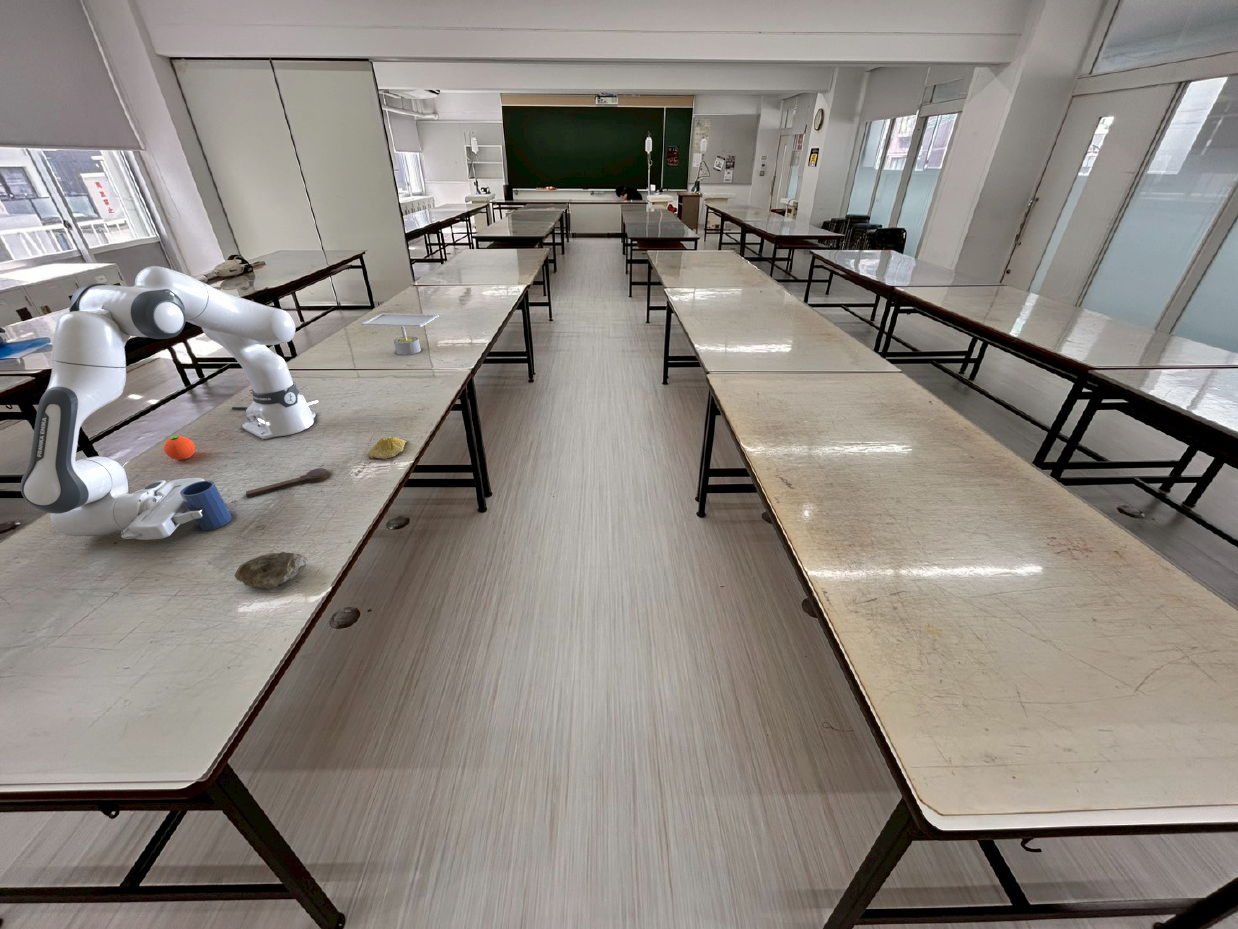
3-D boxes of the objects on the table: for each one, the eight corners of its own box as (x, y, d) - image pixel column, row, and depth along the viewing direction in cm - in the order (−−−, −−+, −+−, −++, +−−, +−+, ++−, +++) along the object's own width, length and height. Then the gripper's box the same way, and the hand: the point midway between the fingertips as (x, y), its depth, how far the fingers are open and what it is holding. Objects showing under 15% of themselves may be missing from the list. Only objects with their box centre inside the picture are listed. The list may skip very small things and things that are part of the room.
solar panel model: (369, 356, 222) (360, 323, 214) (390, 344, 236) (381, 312, 229) (427, 359, 219) (420, 325, 211) (444, 346, 233) (438, 314, 225)
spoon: (247, 500, 128) (244, 496, 127) (247, 491, 132) (245, 486, 131) (329, 478, 136) (327, 474, 136) (327, 470, 140) (325, 465, 139)
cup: (193, 526, 119) (173, 492, 114) (221, 511, 124) (203, 478, 119) (210, 532, 117) (191, 498, 112) (237, 517, 122) (220, 483, 117)
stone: (320, 557, 106) (292, 550, 99) (307, 594, 104) (277, 590, 96) (270, 551, 109) (239, 543, 101) (256, 587, 106) (223, 582, 99)
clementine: (167, 457, 147) (155, 436, 144) (195, 448, 152) (184, 428, 148) (173, 466, 143) (161, 445, 139) (202, 457, 147) (191, 436, 143)
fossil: (378, 424, 151) (408, 427, 149) (386, 438, 155) (415, 442, 153) (358, 449, 143) (389, 453, 141) (366, 463, 147) (397, 467, 146)
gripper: (107, 528, 105) (180, 518, 108) (161, 476, 122) (223, 469, 125) (123, 550, 108) (194, 541, 111) (173, 497, 125) (234, 490, 128)
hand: (210, 503), depth 118 cm, fingers closed on cup, 6 cm apart
